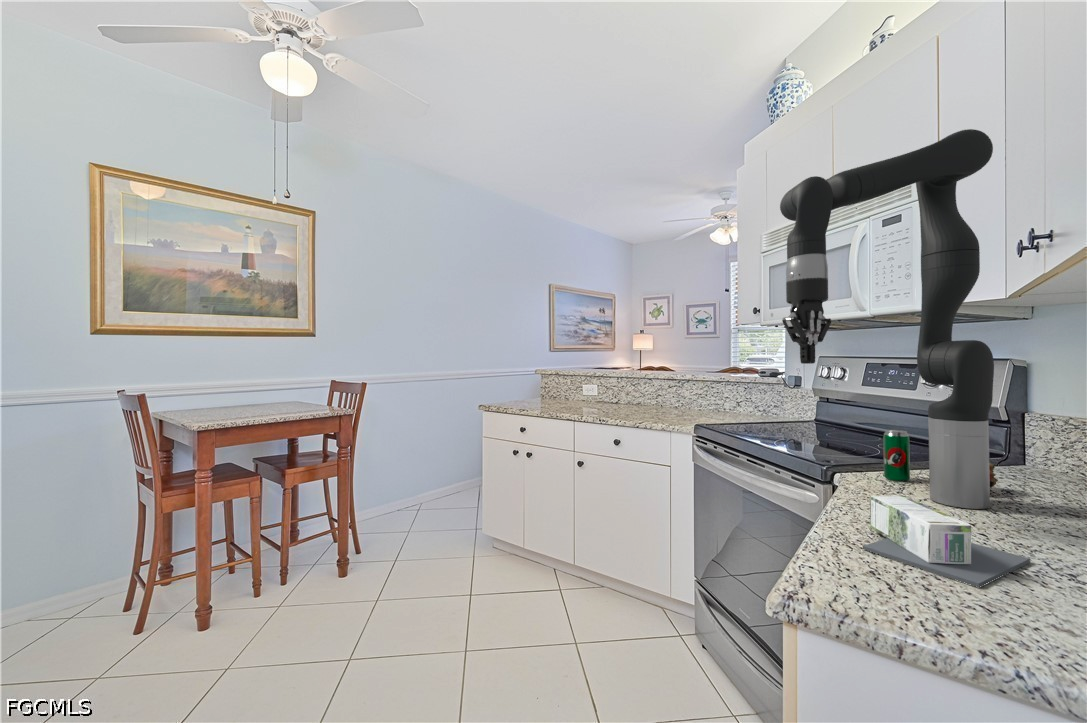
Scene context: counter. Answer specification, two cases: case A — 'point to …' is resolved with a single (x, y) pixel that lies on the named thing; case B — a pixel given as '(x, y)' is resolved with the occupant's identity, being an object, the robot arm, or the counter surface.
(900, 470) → the soda can
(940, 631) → the counter surface
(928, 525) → the syrup box
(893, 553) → the mat
